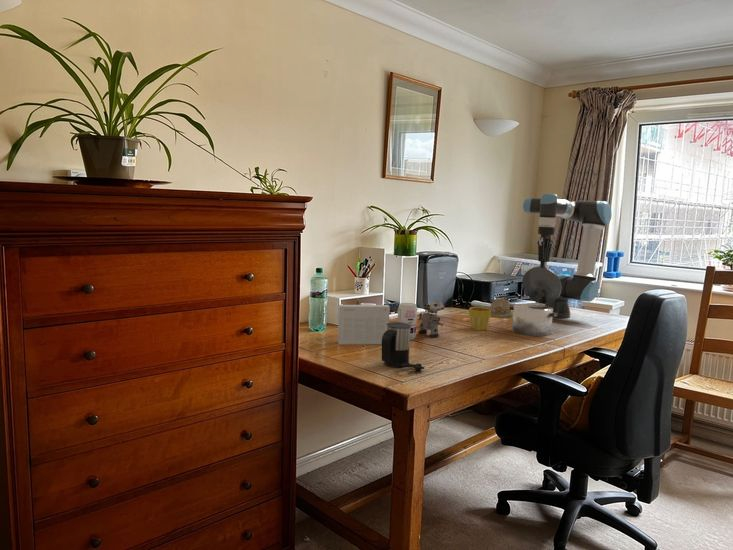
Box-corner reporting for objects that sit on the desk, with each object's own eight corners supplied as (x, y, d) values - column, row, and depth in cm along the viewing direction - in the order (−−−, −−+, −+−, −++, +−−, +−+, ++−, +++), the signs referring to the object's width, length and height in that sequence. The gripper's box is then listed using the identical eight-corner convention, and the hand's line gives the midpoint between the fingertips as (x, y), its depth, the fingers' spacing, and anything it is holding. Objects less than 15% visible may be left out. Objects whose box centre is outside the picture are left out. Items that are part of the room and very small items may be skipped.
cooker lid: (523, 300, 279) (526, 297, 281) (560, 306, 267) (564, 303, 269) (521, 265, 272) (525, 262, 275) (559, 269, 260) (563, 266, 263)
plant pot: (490, 332, 262) (491, 311, 261) (467, 330, 264) (469, 309, 263) (489, 327, 272) (491, 307, 271) (468, 325, 274) (469, 306, 273)
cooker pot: (519, 324, 282) (521, 301, 281) (562, 332, 268) (564, 307, 267) (501, 330, 267) (503, 305, 265) (546, 338, 253) (548, 313, 252)
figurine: (447, 335, 251) (450, 303, 249) (428, 338, 244) (430, 304, 242) (434, 331, 258) (436, 299, 256) (415, 334, 251) (417, 301, 250)
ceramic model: (485, 315, 302) (486, 297, 301) (491, 312, 312) (492, 295, 310) (510, 319, 295) (512, 300, 294) (516, 316, 305) (518, 298, 303)
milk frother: (388, 359, 209) (389, 320, 207) (429, 364, 204) (431, 325, 202) (377, 369, 195) (379, 328, 193) (421, 375, 191) (424, 333, 189)
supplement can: (405, 334, 249) (407, 301, 247) (419, 338, 243) (421, 304, 241) (392, 337, 243) (394, 303, 241) (407, 341, 237) (409, 306, 235)
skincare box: (386, 341, 236) (388, 304, 234) (389, 344, 231) (390, 306, 229) (336, 341, 232) (338, 303, 230) (338, 344, 227) (339, 306, 225)
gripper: (544, 225, 274) (540, 273, 277) (533, 226, 264) (529, 275, 267) (559, 226, 269) (555, 275, 272) (548, 227, 259) (544, 277, 262)
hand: (542, 275), depth 269 cm, fingers closed
